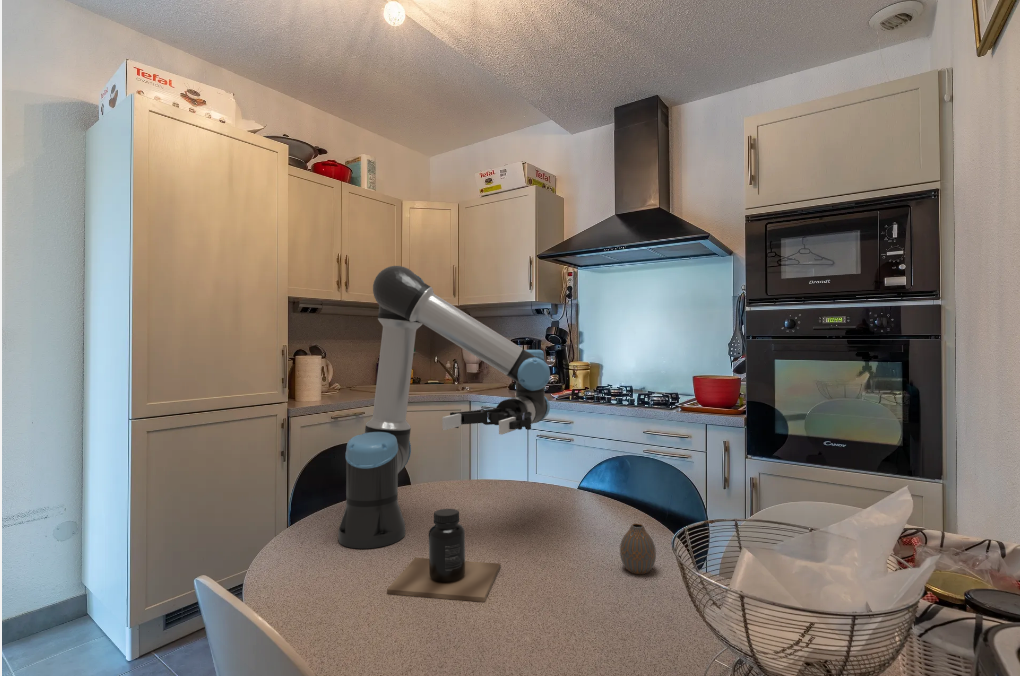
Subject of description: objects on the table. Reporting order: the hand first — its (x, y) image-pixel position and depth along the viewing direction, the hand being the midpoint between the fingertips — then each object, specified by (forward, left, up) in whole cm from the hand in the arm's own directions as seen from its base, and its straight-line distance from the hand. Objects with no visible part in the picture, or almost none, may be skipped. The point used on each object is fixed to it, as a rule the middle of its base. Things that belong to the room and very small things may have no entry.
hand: (471, 425), depth 106 cm
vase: (+34, +1, -28) cm, 44 cm away
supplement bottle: (-2, -9, -27) cm, 29 cm away
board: (-3, -9, -28) cm, 30 cm away
